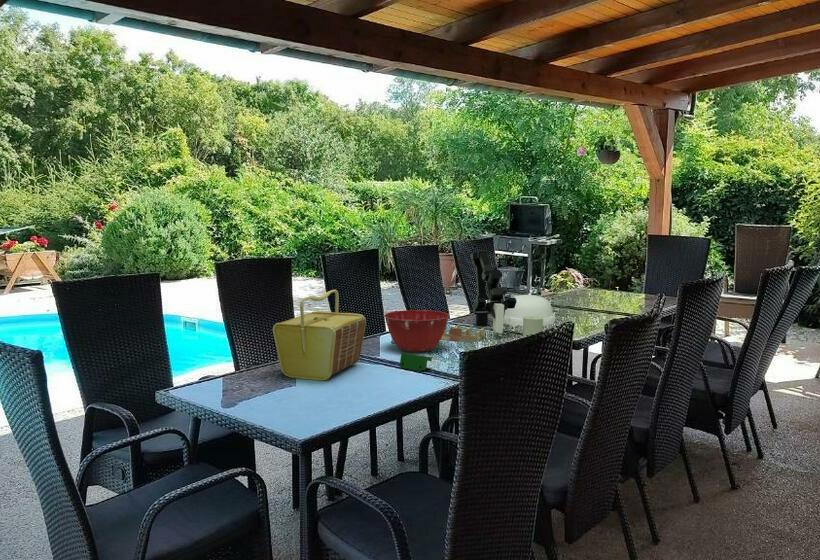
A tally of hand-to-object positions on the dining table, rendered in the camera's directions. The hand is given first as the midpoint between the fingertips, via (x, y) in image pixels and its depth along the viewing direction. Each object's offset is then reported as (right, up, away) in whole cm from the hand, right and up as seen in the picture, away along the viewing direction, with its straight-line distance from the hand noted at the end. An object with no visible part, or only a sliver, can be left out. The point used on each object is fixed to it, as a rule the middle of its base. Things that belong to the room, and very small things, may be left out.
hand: (499, 317), depth 293 cm
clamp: (-39, -17, -50) cm, 66 cm away
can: (+15, -11, -5) cm, 19 cm away
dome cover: (+22, -5, +47) cm, 52 cm away
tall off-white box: (0, -6, +2) cm, 7 cm away
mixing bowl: (-39, -13, -17) cm, 44 cm away
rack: (-18, -10, +4) cm, 21 cm away
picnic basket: (-76, -17, -53) cm, 94 cm away
